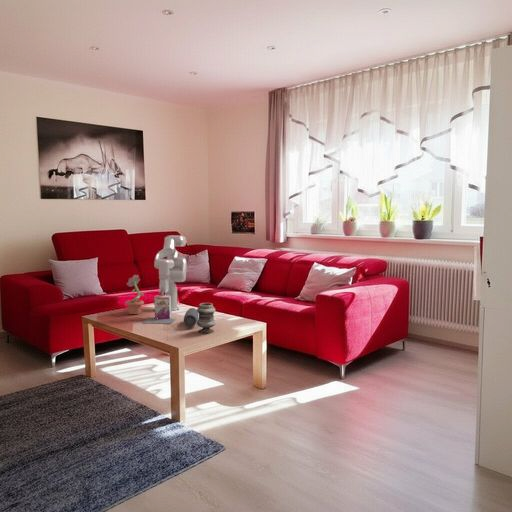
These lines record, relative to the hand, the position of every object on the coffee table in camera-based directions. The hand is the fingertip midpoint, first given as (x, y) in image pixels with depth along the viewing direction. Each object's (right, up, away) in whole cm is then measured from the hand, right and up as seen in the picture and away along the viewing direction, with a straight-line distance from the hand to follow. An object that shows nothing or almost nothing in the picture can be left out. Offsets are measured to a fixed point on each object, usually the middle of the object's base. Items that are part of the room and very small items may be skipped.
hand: (164, 301), depth 331 cm
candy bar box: (0, -12, -2) cm, 12 cm away
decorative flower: (-25, -11, +12) cm, 29 cm away
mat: (-1, -13, -12) cm, 18 cm away
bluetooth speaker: (+23, -14, -22) cm, 34 cm away
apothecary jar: (+35, -15, -39) cm, 55 cm away
